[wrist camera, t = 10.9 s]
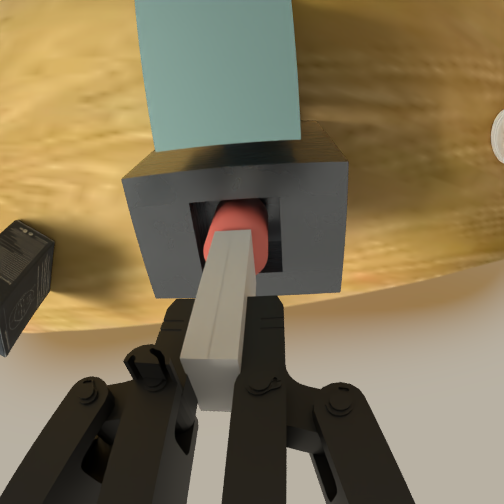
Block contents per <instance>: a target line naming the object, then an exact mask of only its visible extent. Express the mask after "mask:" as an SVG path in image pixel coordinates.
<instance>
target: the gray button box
mask: <svg viewBox="0 0 504 504" xmlns="http://www.w3.org/2000/svg"><path fill="white" fill-rule="evenodd" d="M300 127H301V140H277V141H260V142H245V143H233V144H222V145H211V146H202V147H193V148H185V149H177V150H169V151H162V152H156V151H155V150H154V151H153V152H151V153H150V154H149V155H148V156H147V157H146V158H145V159H143V160H142V161H141V162H140V163H139V164H138V165H137V166H135V167H134V168H133V169H132V170H131V171H130V172H129V173H128V174H126V175H125V176H124V177H123V178H122V179H121V180H122V184H123V188H124V192H125V196H126V200H127V204H128V207H129V211H130V215H131V219H132V222H133V226H134V230H135V233H136V237H137V240H138V243H139V247H140V250H141V254H142V257H143V260H144V263H145V267H146V270H147V273H148V276H149V279H150V282H151V285H152V288H153V291H154V294H155V297H156V298H196V295H197V292H198V288H199V284H200V281H201V277H202V274H203V270H204V267H205V263H206V261H205V258H204V253H203V249H204V244H205V241H206V238H207V235H208V232H209V229H210V226H211V223H212V220H213V217H214V214H215V211H216V208H217V206H218V204H219V203H220V201H221V200H233V199H249V198H258V199H260V200H261V201H262V202H263V204H264V205H265V207H266V209H267V212H268V260H267V263H266V265H265V267H264V268H263V269H262V270H261V271H260V272H259V273H258V274H257V275H256V296H274V295H277V296H278V295H300V294H319V293H336V292H340V291H341V281H342V270H343V258H344V246H345V231H346V215H347V194H348V160H347V159H346V158H345V156H344V155H343V154H342V153H341V151H340V150H339V149H338V147H337V146H336V145H335V144H334V142H333V141H332V140H331V139H330V137H329V136H328V135H327V134H326V132H325V131H324V130H323V129H322V127H321V126H320V125H319V124H318V123H317V121H300Z"/></svg>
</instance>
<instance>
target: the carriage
mask: <svg viewBox="0 0 504 504" xmlns="http://www.w3.org/2000/svg"><path fill="white" fill-rule="evenodd" d="M135 10H136V20H137V30H138V39H139V47H140V55H141V63H142V71H143V78H144V85H145V92H146V98H147V105H148V111H149V117H150V123H151V129H152V135H153V140H154V146H155V151H156V152H162V151H169V150H177V149H185V148H193V147H202V146H211V145H222V144H233V143H245V142H260V141H277V140H301V127H300V107H299V90H298V74H297V60H296V47H295V35H294V24H293V13H292V3H291V0H135Z"/></svg>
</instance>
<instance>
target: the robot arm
mask: <svg viewBox="0 0 504 504" xmlns="http://www.w3.org/2000/svg"><path fill="white" fill-rule="evenodd" d="M283 309H284V307H283V304H282V302H281V301H280V299H279V298H278V296H277V295H274V296H256V275H255V264H254V254H253V244H252V234H251V229H249V230H230V231H215V233H214V236H213V239H212V243H211V246H210V250H209V253H208V256H207V260H206V263H205V267H204V270H203V274H202V277H201V281H200V284H199V288H198V292H197V295H196V299H176V300H175V301H174V302H173V303H172V304H171V305H170V307H169V308H168V309H167V312H166V314H165V317H164V322H163V323H162V326H161V331H160V332H159V335H158V337H157V340H156V343H155V345H153V344H150V345H142V346H140V347H137V348H135V349H134V350H132V351H131V352H130V353H129V354H127V356H126V358H125V359H124V361H123V362H124V363H125V365H126V367H127V369H128V371H129V372H130V374H131V376H132V378H133V380H131V381H127V382H123V383H118V384H113V385H106V383H105V382H104V381H103V380H102V379H100V378H98V377H86V378H83V379H81V380H80V381H78V382H77V383H76V384H75V385H74V386H73V387H72V388H71V390H70V391H69V392H68V394H67V396H66V397H65V398H64V400H63V401H62V402H61V404H60V405H59V407H58V408H57V410H56V411H55V412H54V414H53V415H52V417H51V418H50V420H49V421H48V423H47V424H46V426H45V427H44V429H43V430H42V432H41V433H40V435H39V436H38V438H37V439H36V441H35V442H34V444H33V445H32V447H31V448H30V450H29V451H28V453H27V454H26V456H25V458H24V459H23V461H22V463H21V464H20V465H19V467H18V469H17V470H16V472H15V473H14V475H13V477H12V478H11V480H10V481H9V483H8V485H7V486H6V488H5V490H4V491H3V493H2V495H1V496H0V504H186V503H187V496H188V490H189V483H190V476H191V470H192V463H193V457H194V450H195V444H196V437H197V431H198V419H197V417H196V409H197V403H198V405H199V407H200V409H201V411H225V412H231V419H230V429H229V438H228V448H227V457H226V467H225V476H224V486H223V495H222V504H286V447H289V448H292V449H296V450H300V451H304V452H308V453H309V454H310V457H311V460H312V463H313V466H314V468H315V472H316V474H317V478H318V480H319V484H320V486H321V489H322V492H323V495H324V498H325V501H326V504H415V502H414V500H413V498H412V496H411V493H410V491H409V489H408V487H407V484H406V482H405V480H404V478H403V476H402V473H401V471H400V469H399V467H398V465H397V463H396V461H395V459H394V456H393V454H392V452H391V450H390V448H389V446H388V444H387V442H386V439H385V437H384V435H383V433H382V431H381V429H380V427H379V425H378V423H377V421H376V419H375V417H374V414H373V412H372V410H371V408H370V406H369V404H368V402H367V400H366V398H365V396H364V395H363V394H362V392H361V391H360V390H359V389H358V388H356V387H355V386H353V385H351V384H347V383H342V382H339V383H331V384H329V385H327V386H325V387H323V388H322V389H317V388H313V387H308V386H305V385H302V384H299V383H298V382H296V381H295V380H293V379H292V378H291V377H290V376H289V374H288V372H287V370H286V365H285V337H284V310H283Z"/></svg>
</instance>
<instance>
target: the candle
mask: <svg viewBox="0 0 504 504" xmlns="http://www.w3.org/2000/svg"><path fill="white" fill-rule="evenodd" d="M491 144H492V149H493V152H494V154H495V156H496V157H497V159H498V160H499V161H500V162H502V163H504V109H503V110H502V111H501V112H500V113H499V114H498V115H497V116H496V118H495V120H494V122H493V125H492V130H491Z"/></svg>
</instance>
